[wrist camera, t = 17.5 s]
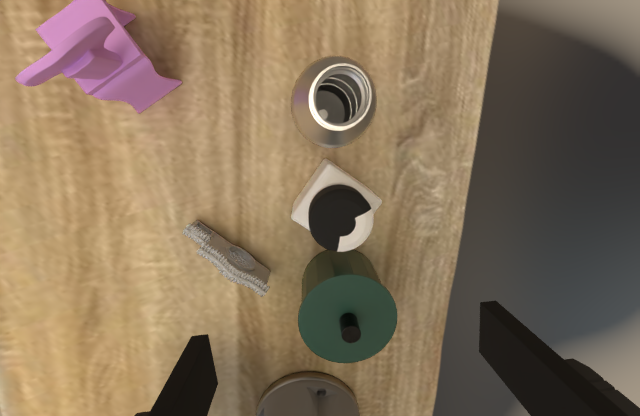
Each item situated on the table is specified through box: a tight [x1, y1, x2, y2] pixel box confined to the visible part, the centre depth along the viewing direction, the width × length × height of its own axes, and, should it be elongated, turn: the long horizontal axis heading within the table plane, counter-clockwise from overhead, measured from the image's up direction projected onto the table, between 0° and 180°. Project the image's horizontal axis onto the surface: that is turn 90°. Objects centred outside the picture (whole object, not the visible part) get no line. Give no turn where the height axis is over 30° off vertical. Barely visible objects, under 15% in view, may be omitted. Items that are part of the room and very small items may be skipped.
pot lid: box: [298, 273, 397, 363], centre depth 34 cm, size 11×11×4 cm
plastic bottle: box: [291, 56, 377, 148], centre depth 28 cm, size 6×7×20 cm
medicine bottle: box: [291, 158, 382, 252], centre depth 34 cm, size 7×7×12 cm
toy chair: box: [15, 0, 182, 113], centre depth 28 cm, size 8×9×15 cm
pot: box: [302, 249, 382, 301], centre depth 39 cm, size 10×10×8 cm
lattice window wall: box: [182, 220, 270, 297], centre depth 38 cm, size 12×2×6 cm, turn 51°
